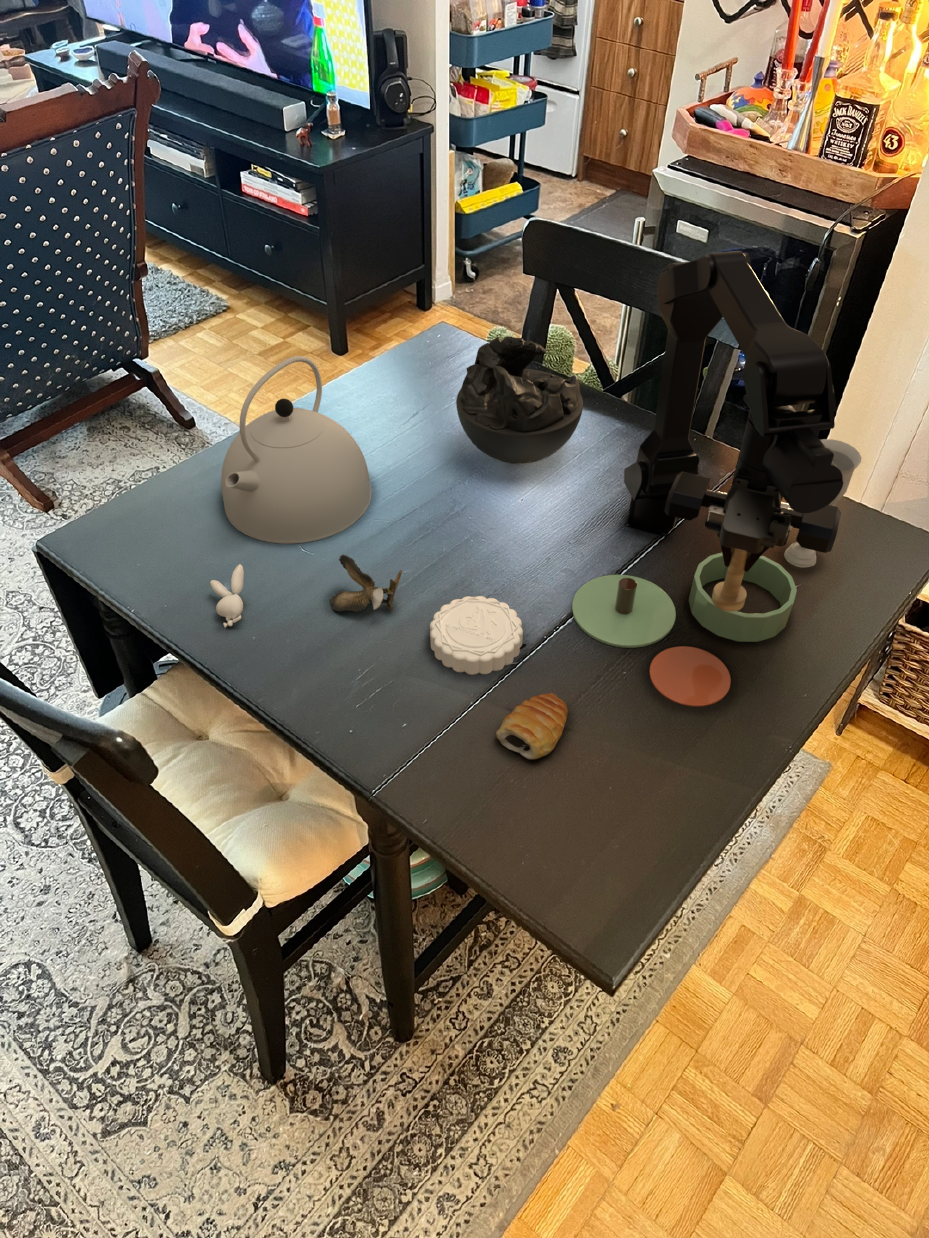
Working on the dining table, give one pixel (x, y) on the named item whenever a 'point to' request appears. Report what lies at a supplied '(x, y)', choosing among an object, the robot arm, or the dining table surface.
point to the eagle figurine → (368, 594)
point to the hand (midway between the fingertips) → (736, 567)
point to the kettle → (293, 472)
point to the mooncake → (476, 635)
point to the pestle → (732, 584)
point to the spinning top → (690, 676)
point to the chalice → (847, 463)
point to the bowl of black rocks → (517, 403)
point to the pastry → (534, 726)
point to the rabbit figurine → (230, 597)
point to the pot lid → (623, 611)
